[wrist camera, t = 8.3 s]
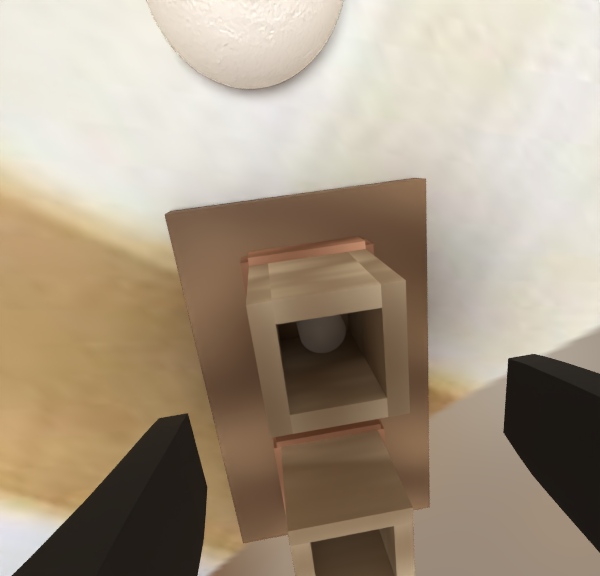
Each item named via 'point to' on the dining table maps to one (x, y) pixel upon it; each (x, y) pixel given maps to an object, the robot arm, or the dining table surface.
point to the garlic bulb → (247, 36)
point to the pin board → (233, 337)
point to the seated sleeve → (345, 503)
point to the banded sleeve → (352, 351)
